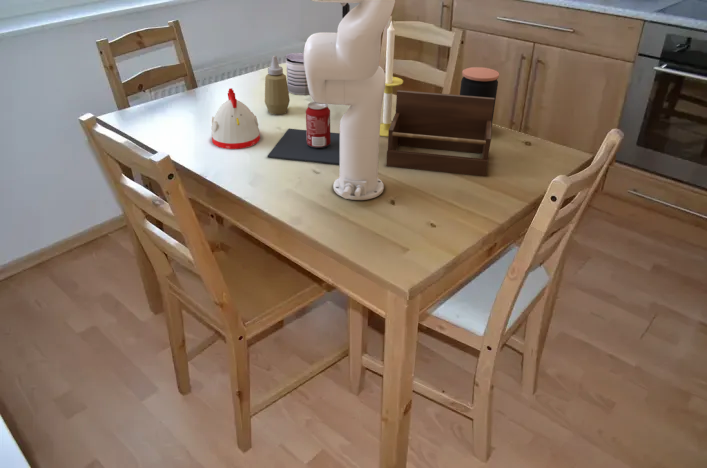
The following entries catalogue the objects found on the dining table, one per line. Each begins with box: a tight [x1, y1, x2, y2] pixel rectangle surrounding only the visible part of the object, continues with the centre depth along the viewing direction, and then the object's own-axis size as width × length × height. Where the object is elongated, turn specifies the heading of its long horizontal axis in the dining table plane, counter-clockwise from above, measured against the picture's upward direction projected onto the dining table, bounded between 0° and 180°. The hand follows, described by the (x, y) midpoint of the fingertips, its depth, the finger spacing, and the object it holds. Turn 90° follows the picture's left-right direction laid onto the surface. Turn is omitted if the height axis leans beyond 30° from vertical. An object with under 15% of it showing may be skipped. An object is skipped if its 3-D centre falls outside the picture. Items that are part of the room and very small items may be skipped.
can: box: [284, 52, 310, 96], centre depth 206 cm, size 11×11×12 cm
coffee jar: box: [459, 66, 500, 128], centre depth 175 cm, size 11×11×18 cm
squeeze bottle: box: [264, 55, 291, 115], centre depth 186 cm, size 8×8×18 cm
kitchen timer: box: [210, 88, 261, 150], centre depth 168 cm, size 14×14×15 cm
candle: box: [379, 19, 404, 138], centre depth 170 cm, size 10×10×32 cm
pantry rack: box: [385, 89, 494, 177], centre depth 158 cm, size 15×26×16 cm, turn 78°
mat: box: [267, 128, 340, 166], centre depth 167 cm, size 20×24×1 cm
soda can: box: [305, 101, 331, 149], centre depth 164 cm, size 7×7×12 cm
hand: (365, 22), depth 150 cm, fingers open, 9 cm apart
